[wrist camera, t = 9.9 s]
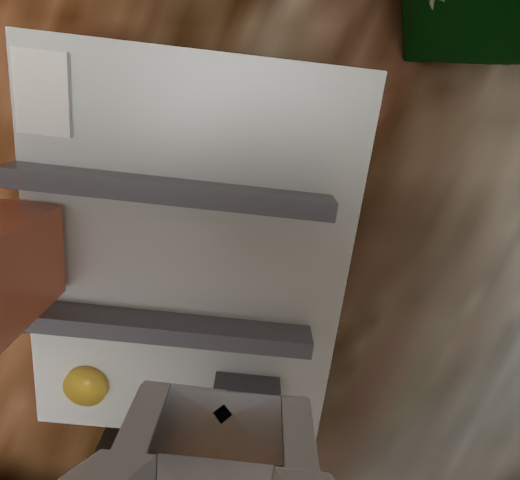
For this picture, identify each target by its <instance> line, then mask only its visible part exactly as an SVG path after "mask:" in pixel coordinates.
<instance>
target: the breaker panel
mask: <svg viewBox="0 0 520 480" xmlns="http://www.w3.org/2000/svg"><path fill="white" fill-rule="evenodd" d="M5 33H6V45H7V57H8V69H9V81H10V94H11V106H12V118H13V130H14V142H15V154H16V161H13V162H9V163H5V164H1V165H0V188H6V189H16V190H19V201H27V202H36V203H46V204H55V205H62V224H63V244H64V265H65V285H66V291H65V292H64V293H63V294H62V295H61V296H60V297H59V298H58V299H57V300H56V301H55V302H54V303H52V304H51V305H50V306H49V307H48V308H47V309H46V310H45V311H44V312H43V313H42V314H41V315H40V316H39V317H38V318H37V319H36V320H35V321H34V322H33V323H32V324H31V325H30V326H29V327H28V328H27V329H26V330H25V331H24V333H30V334H31V346H32V358H33V370H34V382H35V394H36V406H37V418H38V421H43V422H54V423H65V424H76V425H87V426H99V427H110V428H121V425H122V423H123V421H124V419H125V417H126V415H127V412H128V410H129V408H130V406H131V404H132V402H133V399H134V397H135V395H136V393H137V391H138V389H139V386H140V385H141V384H142V383H143V382H144V381H145V380H148V381H156V382H165V383H171V384H173V383H175V384H183V385H191V386H199V387H206V388H214V389H222V390H227V391H238V392H248V393H258V394H268V395H278V396H280V395H289V396H302V397H308V399H309V400H310V405H311V411H312V418H313V425H314V431H315V438H317V433H318V428H319V423H320V418H321V413H322V407H323V402H324V397H325V392H326V387H327V381H328V376H329V371H330V366H331V361H332V356H333V350H334V345H335V340H336V335H337V330H338V324H339V319H340V314H341V309H342V304H343V299H344V293H345V288H346V283H347V278H348V273H349V267H350V262H351V257H352V252H353V247H354V242H355V236H356V231H357V226H358V221H359V216H360V210H361V205H362V200H363V195H364V190H365V185H366V179H367V174H368V169H369V164H370V159H371V153H372V148H373V143H374V138H375V133H376V128H377V122H378V117H379V112H380V107H381V102H382V96H383V91H384V86H385V81H386V76H387V71H383V70H374V69H366V68H357V67H349V66H340V65H332V64H323V63H314V62H306V61H297V60H289V59H280V58H272V57H263V56H255V55H246V54H238V53H229V52H221V51H212V50H204V49H195V48H187V47H178V46H169V45H161V44H152V43H144V42H135V41H127V40H118V39H110V38H101V37H93V36H84V35H76V34H67V33H59V32H50V31H42V30H33V29H24V28H16V27H7V26H5Z"/></svg>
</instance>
